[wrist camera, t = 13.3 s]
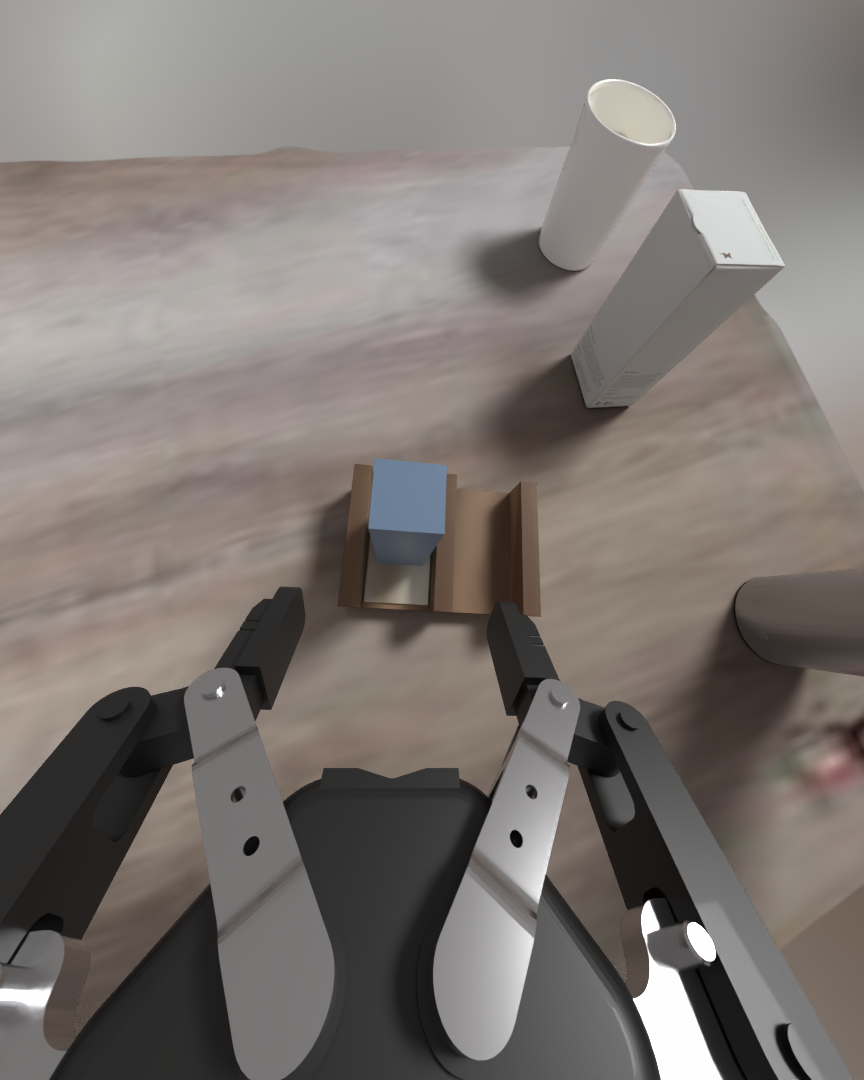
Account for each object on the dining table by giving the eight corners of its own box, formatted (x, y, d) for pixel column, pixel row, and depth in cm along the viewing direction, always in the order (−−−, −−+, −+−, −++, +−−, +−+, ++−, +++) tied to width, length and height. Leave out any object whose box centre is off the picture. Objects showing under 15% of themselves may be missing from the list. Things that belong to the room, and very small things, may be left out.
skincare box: (630, 408, 37) (792, 271, 22) (581, 410, 36) (717, 267, 21) (612, 350, 39) (752, 187, 24) (565, 351, 38) (680, 180, 23)
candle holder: (566, 213, 44) (629, 70, 32) (612, 259, 43) (694, 129, 31) (518, 236, 41) (567, 91, 30) (565, 286, 40) (636, 156, 29)
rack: (517, 500, 32) (536, 483, 28) (518, 615, 30) (540, 616, 25) (359, 484, 30) (354, 463, 26) (346, 606, 28) (337, 606, 23)
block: (424, 524, 29) (446, 465, 17) (422, 565, 28) (444, 534, 16) (381, 520, 28) (374, 458, 17) (378, 563, 27) (368, 528, 16)
